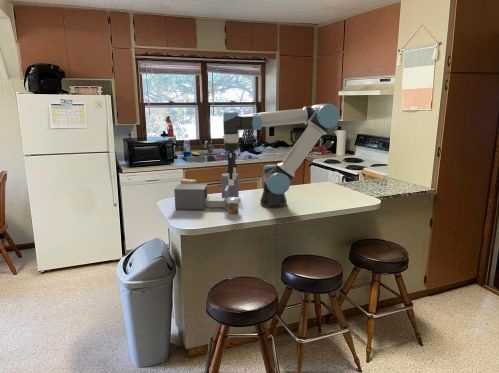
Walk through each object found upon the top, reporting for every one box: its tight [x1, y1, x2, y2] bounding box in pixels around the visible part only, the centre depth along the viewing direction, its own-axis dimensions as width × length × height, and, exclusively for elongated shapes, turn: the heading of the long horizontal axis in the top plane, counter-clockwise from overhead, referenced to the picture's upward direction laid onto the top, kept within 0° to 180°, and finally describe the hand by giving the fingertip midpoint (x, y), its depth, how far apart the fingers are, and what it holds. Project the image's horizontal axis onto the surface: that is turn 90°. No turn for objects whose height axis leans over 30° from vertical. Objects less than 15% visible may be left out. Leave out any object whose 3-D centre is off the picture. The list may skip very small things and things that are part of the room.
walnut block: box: [227, 203, 239, 215], centre depth 202 cm, size 5×5×6 cm
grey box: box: [173, 183, 208, 212], centre depth 210 cm, size 16×12×12 cm
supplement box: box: [180, 178, 197, 184], centre depth 223 cm, size 8×5×13 cm, turn 70°
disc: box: [226, 196, 241, 204], centre depth 201 cm, size 8×8×2 cm
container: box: [220, 172, 240, 198], centre depth 228 cm, size 10×10×15 cm
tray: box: [204, 186, 229, 211], centre depth 210 cm, size 16×12×11 cm
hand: (232, 182), depth 198 cm, fingers open, 13 cm apart
